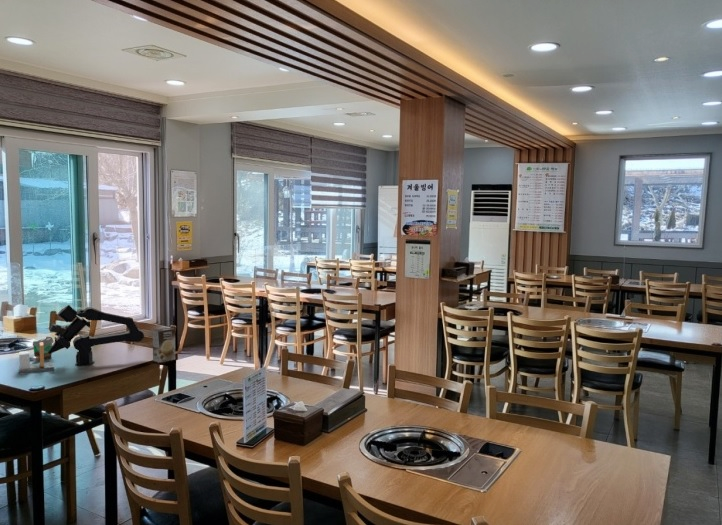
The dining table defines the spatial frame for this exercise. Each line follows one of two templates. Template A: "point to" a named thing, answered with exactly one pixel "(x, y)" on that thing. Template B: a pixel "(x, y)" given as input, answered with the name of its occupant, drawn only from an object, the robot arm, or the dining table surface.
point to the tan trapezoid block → (41, 357)
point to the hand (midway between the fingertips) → (48, 353)
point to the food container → (47, 346)
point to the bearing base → (28, 368)
